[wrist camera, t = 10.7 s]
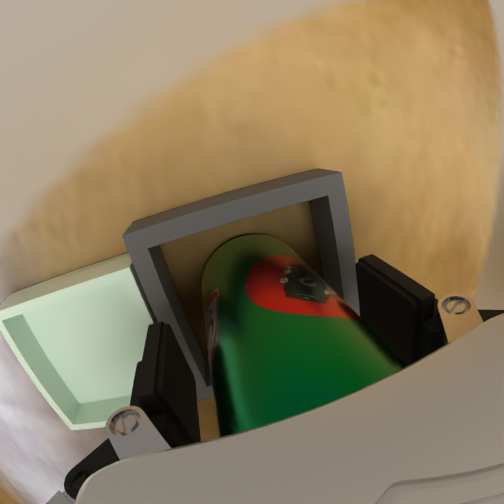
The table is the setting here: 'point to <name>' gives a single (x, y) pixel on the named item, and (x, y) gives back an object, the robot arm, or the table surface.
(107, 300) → the tray
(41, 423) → the table surface
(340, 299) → the soda can
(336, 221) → the collar
